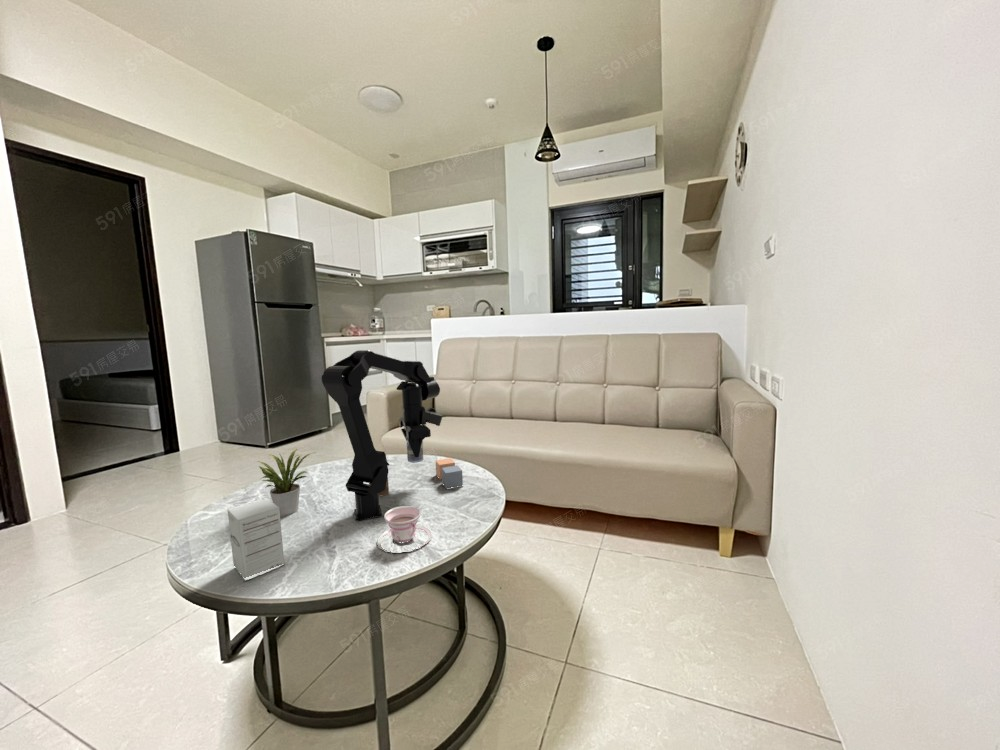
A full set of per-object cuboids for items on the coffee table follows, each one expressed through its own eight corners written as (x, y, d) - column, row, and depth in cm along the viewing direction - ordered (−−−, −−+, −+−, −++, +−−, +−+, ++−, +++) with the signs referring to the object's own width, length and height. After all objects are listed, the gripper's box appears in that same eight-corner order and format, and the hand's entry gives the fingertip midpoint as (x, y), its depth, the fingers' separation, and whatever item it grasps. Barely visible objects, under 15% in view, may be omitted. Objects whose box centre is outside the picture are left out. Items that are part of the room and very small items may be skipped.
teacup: (367, 540, 89) (365, 514, 88) (414, 521, 97) (412, 497, 96) (394, 562, 80) (392, 533, 79) (442, 539, 88) (441, 513, 88)
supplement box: (232, 568, 79) (226, 508, 78) (273, 552, 85) (267, 496, 83) (243, 583, 74) (236, 519, 73) (285, 565, 80) (280, 506, 78)
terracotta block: (455, 477, 125) (454, 462, 125) (440, 480, 123) (439, 464, 123) (451, 472, 130) (450, 458, 129) (436, 475, 128) (435, 460, 127)
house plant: (316, 493, 115) (311, 439, 114) (326, 510, 104) (321, 450, 102) (259, 507, 107) (253, 449, 106) (263, 527, 96) (257, 462, 94)
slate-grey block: (462, 486, 118) (462, 470, 117) (446, 489, 116) (445, 473, 116) (458, 480, 123) (457, 465, 122) (442, 483, 121) (441, 467, 120)
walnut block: (389, 494, 114) (388, 477, 113) (370, 497, 112) (369, 480, 111) (387, 488, 118) (386, 472, 118) (369, 491, 116) (368, 475, 116)
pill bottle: (404, 461, 118) (402, 434, 117) (415, 457, 122) (414, 430, 121) (415, 464, 115) (414, 436, 114) (427, 459, 119) (425, 432, 118)
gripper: (447, 405, 111) (449, 459, 113) (432, 396, 128) (434, 443, 130) (407, 409, 107) (410, 465, 108) (397, 399, 124) (400, 447, 126)
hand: (415, 454), depth 118 cm, fingers closed on pill bottle, 5 cm apart
